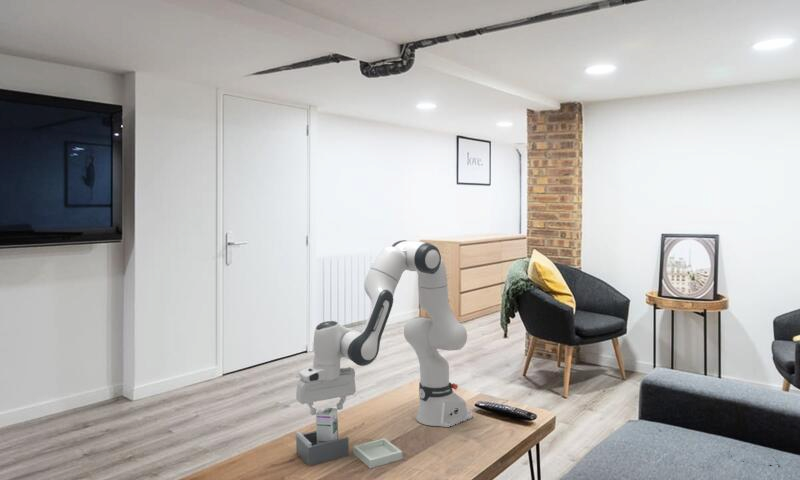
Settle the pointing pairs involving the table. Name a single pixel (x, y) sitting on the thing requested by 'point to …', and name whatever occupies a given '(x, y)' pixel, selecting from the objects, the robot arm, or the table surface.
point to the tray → (377, 453)
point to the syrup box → (326, 425)
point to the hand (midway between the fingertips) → (326, 411)
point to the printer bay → (319, 448)
